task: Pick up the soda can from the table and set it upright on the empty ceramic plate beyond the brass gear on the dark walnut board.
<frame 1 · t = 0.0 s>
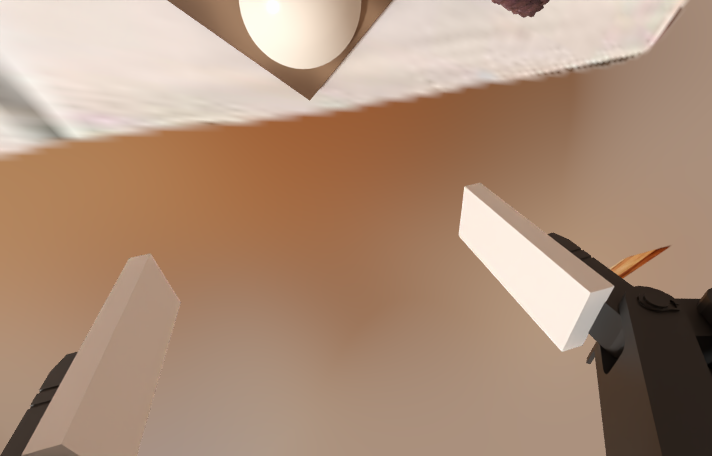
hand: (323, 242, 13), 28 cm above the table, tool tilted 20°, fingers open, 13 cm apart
ceramic plate: (301, 4, 29), resting on gear board
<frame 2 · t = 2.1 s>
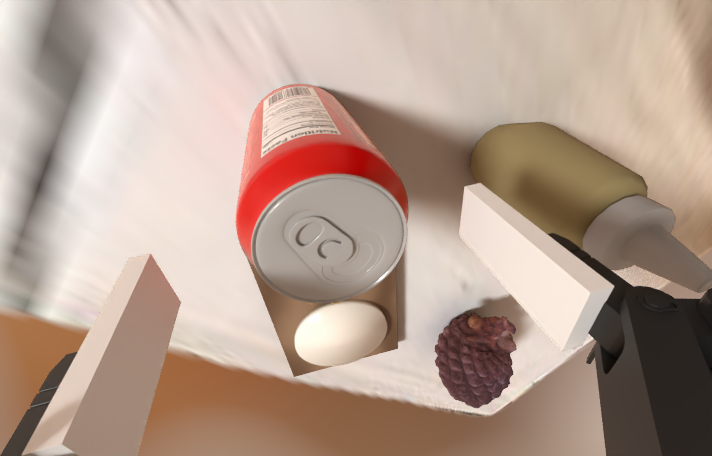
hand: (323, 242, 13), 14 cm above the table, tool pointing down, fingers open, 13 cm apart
soda can: (301, 133, 25), on the table
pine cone: (452, 330, 46), on the table
ceramic plate: (341, 331, 37), resting on gear board
gear board: (333, 297, 36), on the table
squeeze bottle: (495, 153, 30), on the table
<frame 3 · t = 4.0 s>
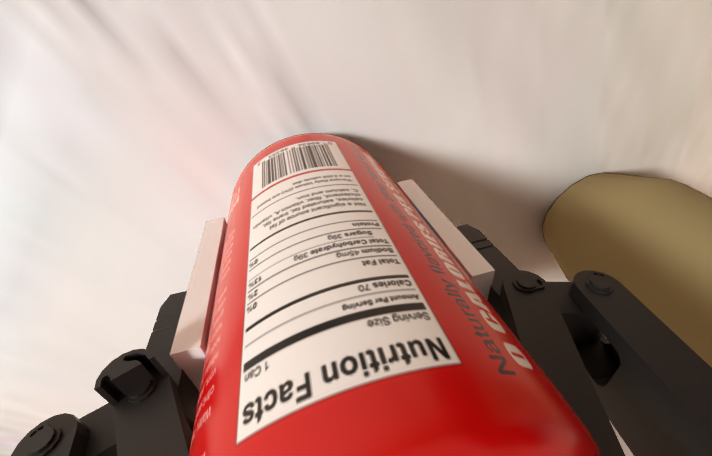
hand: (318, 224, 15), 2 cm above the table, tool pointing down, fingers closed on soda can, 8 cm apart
soda can: (312, 199, 17), on the table, touching gripper
squeeze bottle: (576, 209, 22), on the table
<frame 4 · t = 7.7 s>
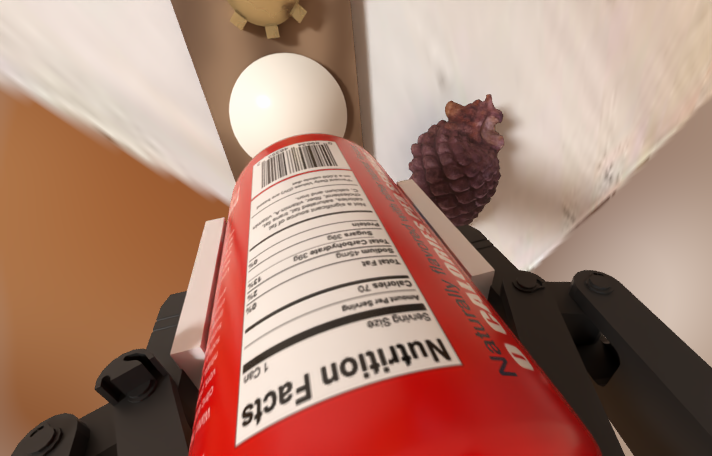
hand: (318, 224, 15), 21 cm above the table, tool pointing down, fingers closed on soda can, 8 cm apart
soda can: (312, 199, 17), point 19 cm above the table, touching gripper
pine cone: (431, 160, 39), on the table
ceramic plate: (290, 116, 31), resting on gear board
gear board: (278, 63, 29), on the table
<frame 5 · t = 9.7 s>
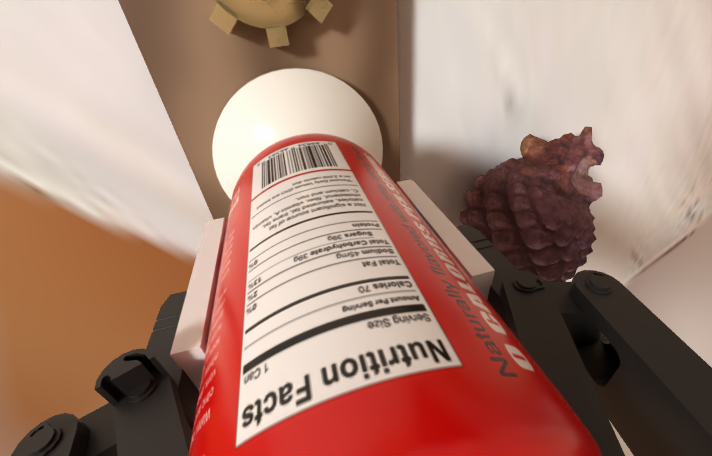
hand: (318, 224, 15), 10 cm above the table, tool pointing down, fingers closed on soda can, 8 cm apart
soda can: (312, 200, 17), point 7 cm above the table, touching gripper
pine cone: (483, 203, 30), on the table
ceramic plate: (302, 157, 21), resting on gear board
gear board: (285, 82, 20), on the table
when the fingers open (6 cm above the table, at t = 11.3 s): soda can drops 2 cm, resting on ceramic plate.
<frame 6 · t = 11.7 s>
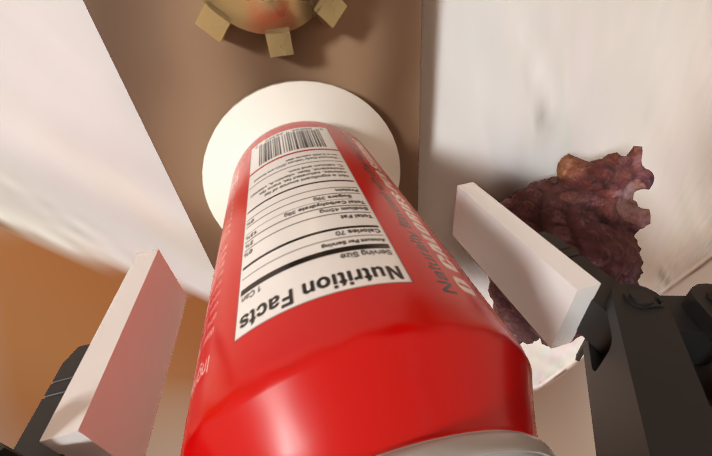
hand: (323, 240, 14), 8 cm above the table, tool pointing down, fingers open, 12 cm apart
soda can: (306, 184, 18), point 2 cm above the table, touching ceramic plate
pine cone: (506, 225, 27), on the table
ceramic plate: (307, 181, 18), resting on gear board
gear board: (288, 95, 17), on the table
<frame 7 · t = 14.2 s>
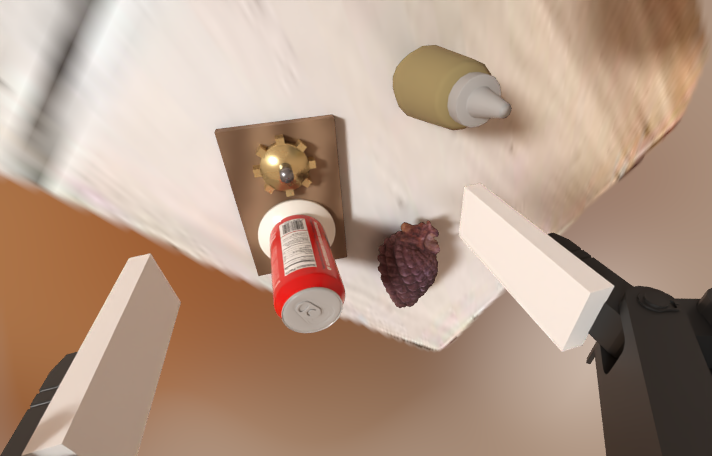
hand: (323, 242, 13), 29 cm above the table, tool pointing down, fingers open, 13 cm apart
soda can: (297, 234, 45), point 2 cm above the table, touching ceramic plate
brass gear: (284, 164, 40), resting on gear board
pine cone: (395, 248, 55), on the table
ceramic plate: (297, 232, 46), resting on gear board
gear board: (291, 200, 44), on the table
squeeze bottle: (412, 79, 40), on the table
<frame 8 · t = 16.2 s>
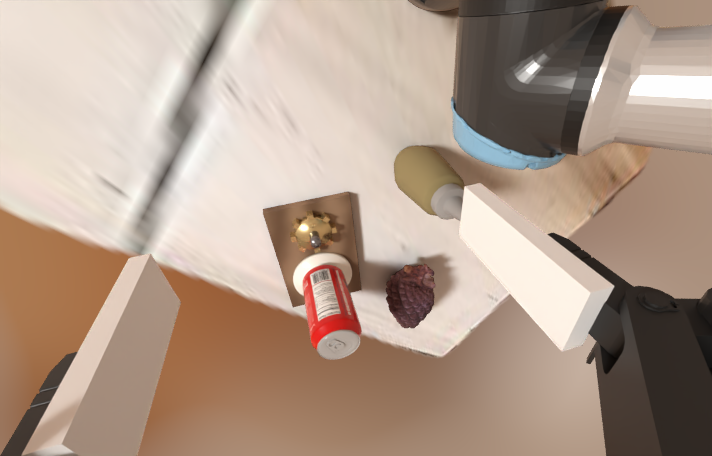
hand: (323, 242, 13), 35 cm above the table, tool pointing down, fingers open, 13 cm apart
soda can: (322, 276, 58), point 2 cm above the table, touching ceramic plate
brass gear: (312, 229, 53), resting on gear board
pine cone: (400, 280, 68), on the table
ceramic plate: (322, 274, 59), resting on gear board
gear board: (317, 251, 58), on the table
squeeze bottle: (409, 162, 52), on the table
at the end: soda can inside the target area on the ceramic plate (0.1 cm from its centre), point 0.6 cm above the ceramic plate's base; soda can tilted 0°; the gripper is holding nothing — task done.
